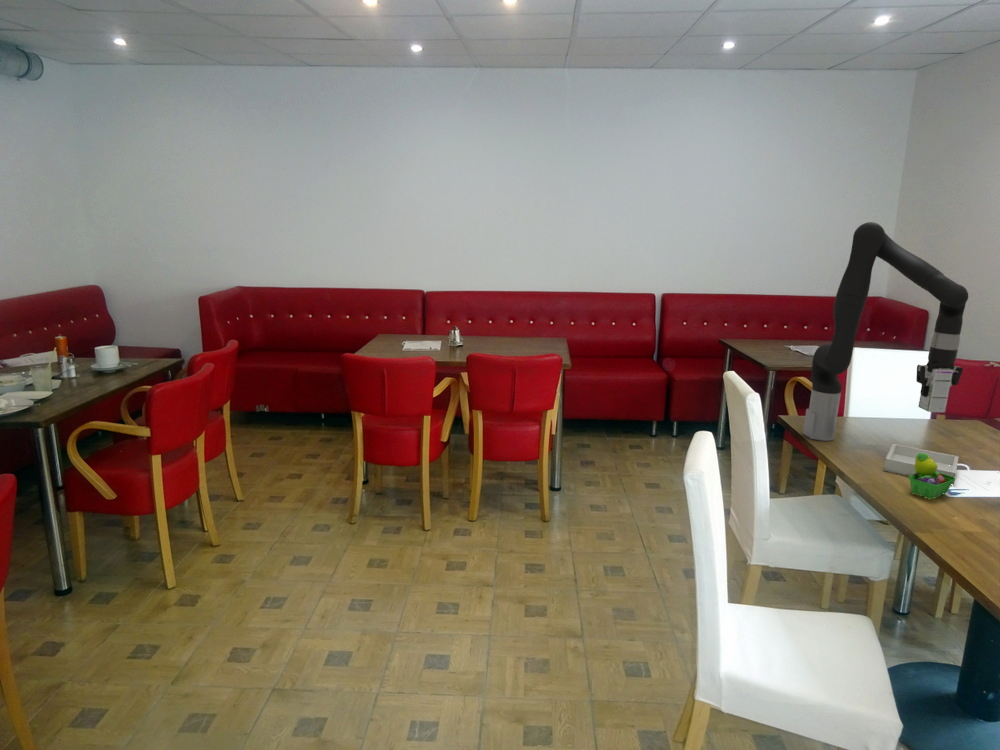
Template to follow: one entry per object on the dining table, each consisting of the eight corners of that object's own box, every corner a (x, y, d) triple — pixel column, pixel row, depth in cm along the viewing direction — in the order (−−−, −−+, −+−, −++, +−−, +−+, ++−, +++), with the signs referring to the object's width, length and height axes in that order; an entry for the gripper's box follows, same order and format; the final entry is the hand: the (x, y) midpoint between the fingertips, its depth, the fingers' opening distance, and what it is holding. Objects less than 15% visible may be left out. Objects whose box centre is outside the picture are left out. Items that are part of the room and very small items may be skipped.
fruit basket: (933, 503, 180) (941, 464, 177) (900, 491, 187) (907, 454, 184) (953, 494, 185) (961, 457, 183) (920, 483, 193) (927, 447, 190)
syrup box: (945, 412, 212) (954, 369, 209) (927, 412, 212) (936, 368, 209) (934, 407, 218) (943, 365, 214) (917, 407, 218) (925, 365, 214)
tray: (953, 485, 192) (955, 473, 191) (883, 470, 202) (885, 458, 201) (956, 468, 206) (958, 456, 205) (891, 454, 216) (893, 443, 215)
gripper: (929, 348, 206) (919, 399, 210) (974, 349, 206) (963, 400, 210) (914, 343, 213) (905, 393, 217) (957, 345, 214) (947, 394, 218)
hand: (934, 396), depth 214 cm, fingers closed on syrup box, 6 cm apart
